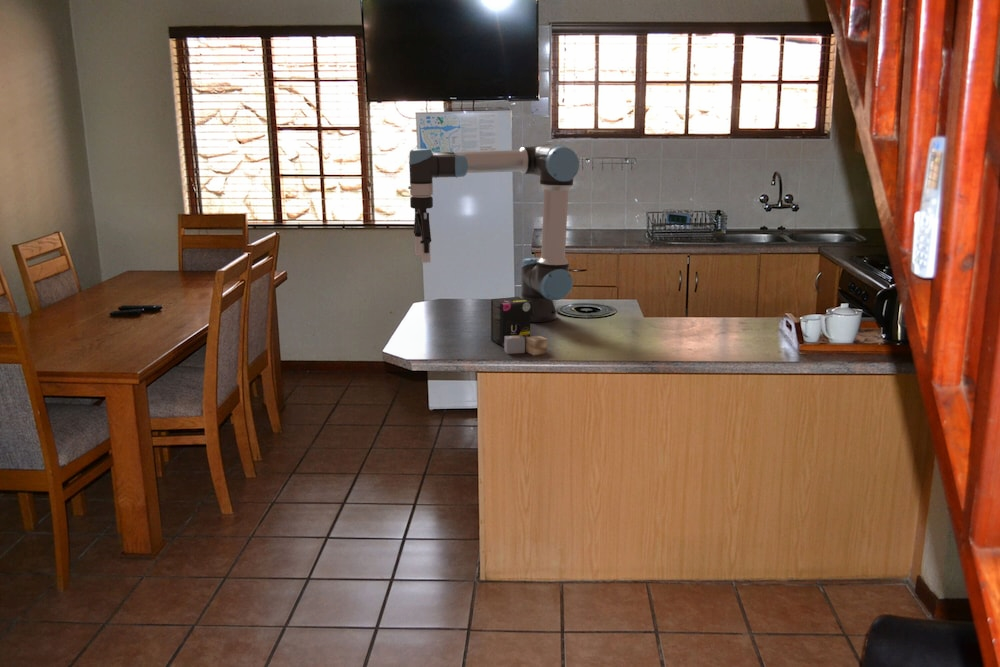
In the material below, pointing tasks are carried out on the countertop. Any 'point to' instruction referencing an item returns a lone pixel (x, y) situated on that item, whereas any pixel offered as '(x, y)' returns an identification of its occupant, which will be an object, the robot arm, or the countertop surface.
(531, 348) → the beech cube
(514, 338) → the light grey block
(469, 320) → the countertop surface
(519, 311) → the tampon box
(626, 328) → the countertop surface
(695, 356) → the countertop surface
